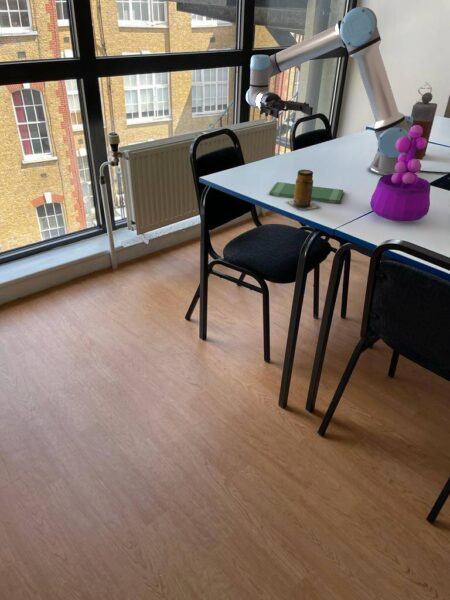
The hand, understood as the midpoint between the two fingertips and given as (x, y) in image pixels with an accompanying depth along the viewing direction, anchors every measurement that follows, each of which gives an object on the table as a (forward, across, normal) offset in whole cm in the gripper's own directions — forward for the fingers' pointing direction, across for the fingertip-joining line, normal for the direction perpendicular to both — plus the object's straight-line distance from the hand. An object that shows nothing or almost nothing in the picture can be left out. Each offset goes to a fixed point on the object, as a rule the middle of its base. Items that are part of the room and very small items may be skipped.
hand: (295, 112), depth 164 cm
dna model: (-33, -88, -28) cm, 98 cm away
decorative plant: (+38, -21, -28) cm, 52 cm away
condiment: (+17, +3, -28) cm, 33 cm away
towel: (+8, -4, -28) cm, 29 cm away
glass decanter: (-21, -79, -28) cm, 86 cm away
